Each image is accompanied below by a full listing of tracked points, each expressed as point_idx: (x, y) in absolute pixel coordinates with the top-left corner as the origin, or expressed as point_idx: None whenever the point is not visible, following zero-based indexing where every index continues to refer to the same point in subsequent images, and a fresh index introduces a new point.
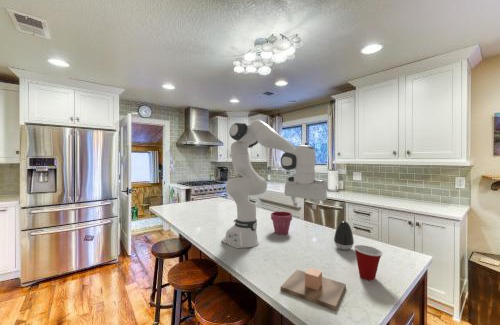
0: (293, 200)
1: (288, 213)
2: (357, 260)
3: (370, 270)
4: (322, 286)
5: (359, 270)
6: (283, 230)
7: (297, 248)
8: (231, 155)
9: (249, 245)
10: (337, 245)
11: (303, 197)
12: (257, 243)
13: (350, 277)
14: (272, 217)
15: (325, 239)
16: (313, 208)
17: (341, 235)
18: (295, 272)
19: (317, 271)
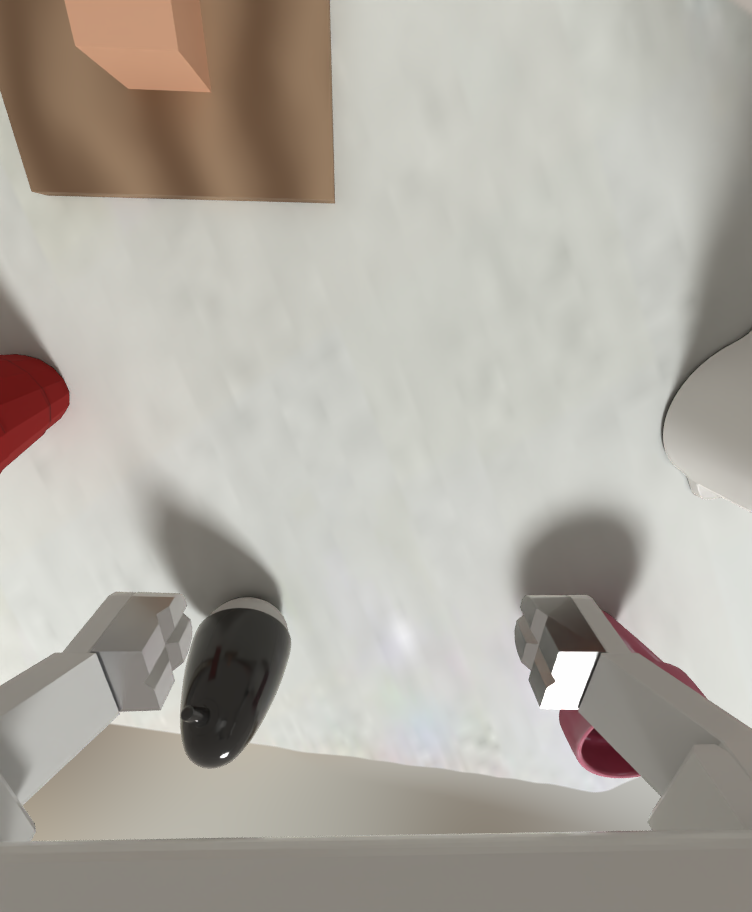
0: (662, 697)
1: (602, 767)
2: (6, 392)
3: None
4: None
5: (35, 374)
6: None
7: (441, 502)
8: None
9: (714, 367)
10: (266, 605)
11: (343, 870)
12: (670, 427)
13: (89, 335)
14: (689, 682)
15: (357, 658)
16: (140, 595)
17: (227, 652)
18: (325, 149)
19: (97, 14)
